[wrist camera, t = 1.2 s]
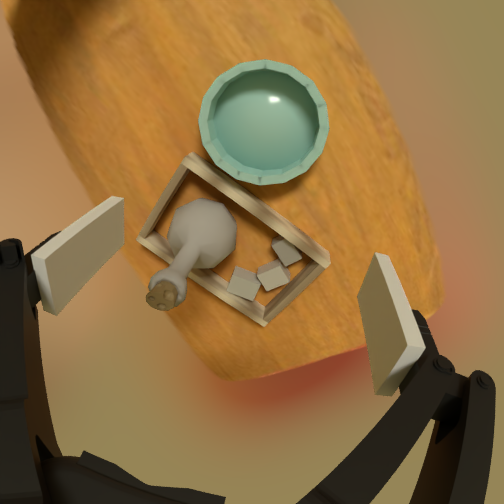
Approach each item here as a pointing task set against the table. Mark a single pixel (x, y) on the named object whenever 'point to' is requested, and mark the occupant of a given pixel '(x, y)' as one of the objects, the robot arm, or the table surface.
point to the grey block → (244, 283)
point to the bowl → (263, 122)
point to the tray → (257, 209)
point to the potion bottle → (192, 249)
